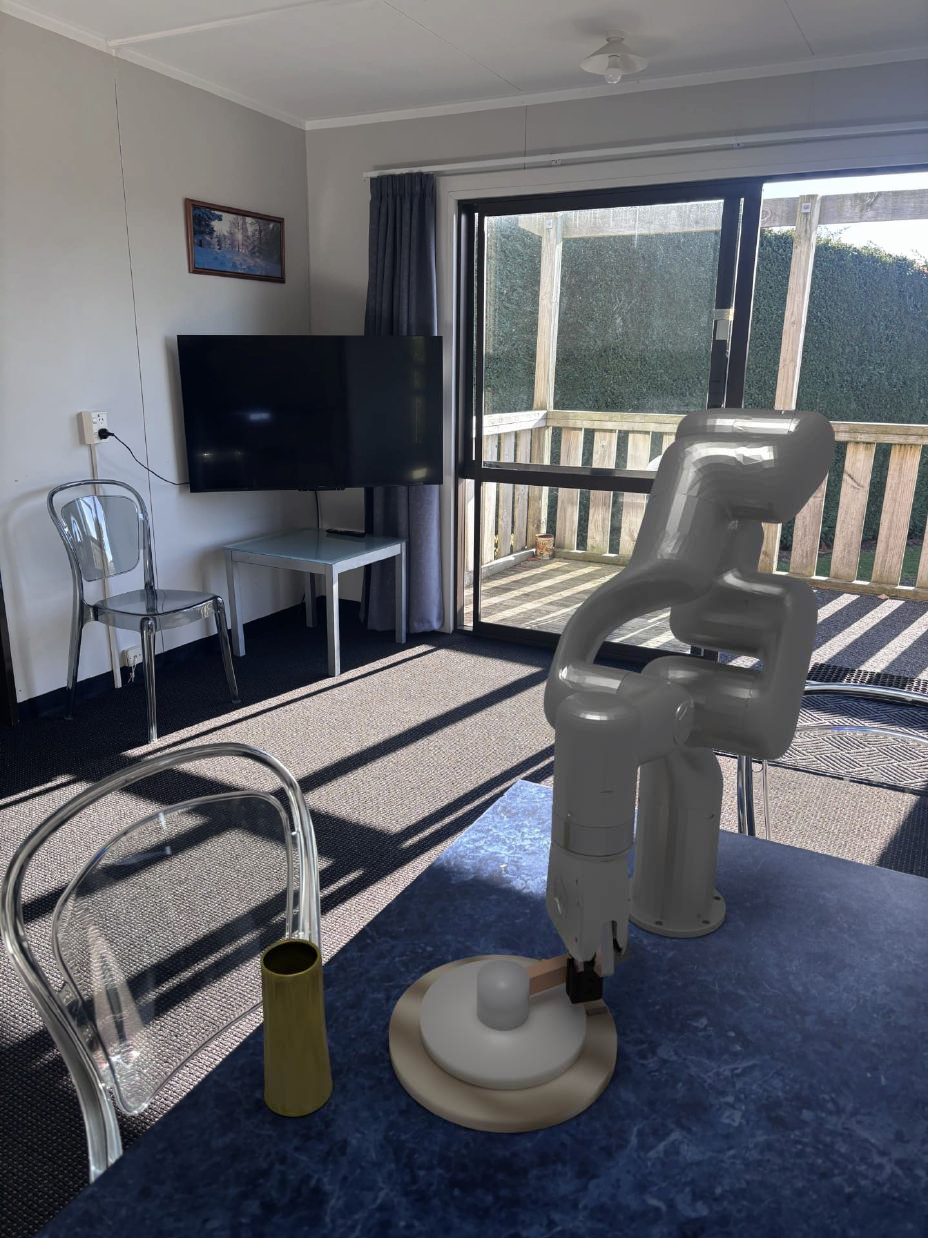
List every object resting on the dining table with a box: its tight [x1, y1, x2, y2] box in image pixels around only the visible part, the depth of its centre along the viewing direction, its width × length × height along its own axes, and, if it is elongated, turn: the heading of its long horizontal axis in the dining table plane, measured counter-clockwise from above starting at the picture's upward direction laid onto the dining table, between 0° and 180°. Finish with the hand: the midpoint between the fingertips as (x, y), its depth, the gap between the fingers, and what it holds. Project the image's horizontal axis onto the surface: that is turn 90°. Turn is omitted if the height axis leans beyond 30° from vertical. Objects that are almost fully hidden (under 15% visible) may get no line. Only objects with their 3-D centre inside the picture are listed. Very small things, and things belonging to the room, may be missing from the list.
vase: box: [259, 938, 334, 1118], centre depth 80 cm, size 6×6×14 cm
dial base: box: [388, 954, 618, 1134], centre depth 88 cm, size 22×22×2 cm
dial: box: [420, 939, 632, 1089], centre depth 88 cm, size 22×16×6 cm
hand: (583, 996), depth 87 cm, fingers closed
